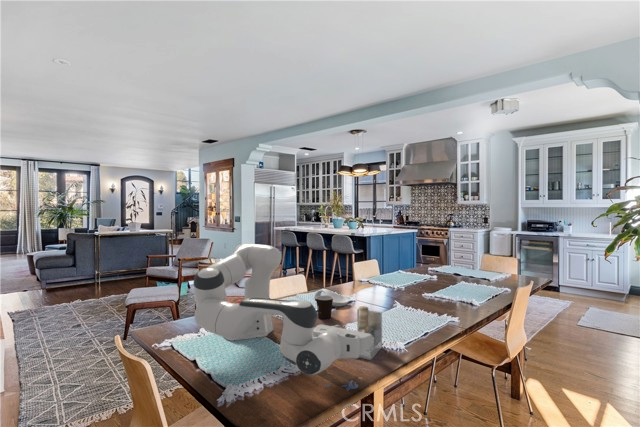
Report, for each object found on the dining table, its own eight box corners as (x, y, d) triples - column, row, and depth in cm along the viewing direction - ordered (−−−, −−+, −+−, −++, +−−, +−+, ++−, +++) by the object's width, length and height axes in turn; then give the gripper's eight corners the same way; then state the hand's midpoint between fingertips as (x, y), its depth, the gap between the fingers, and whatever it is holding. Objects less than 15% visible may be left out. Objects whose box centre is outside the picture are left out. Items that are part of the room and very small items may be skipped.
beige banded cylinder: (362, 346, 129) (362, 309, 128) (356, 343, 132) (357, 307, 132) (369, 344, 131) (370, 308, 130) (364, 341, 134) (364, 305, 133)
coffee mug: (331, 320, 167) (331, 300, 166) (314, 319, 168) (314, 299, 168) (335, 313, 178) (335, 294, 178) (319, 312, 180) (319, 293, 179)
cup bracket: (370, 360, 124) (370, 321, 124) (345, 354, 129) (345, 317, 129) (382, 347, 135) (382, 312, 135) (358, 342, 140) (358, 308, 140)
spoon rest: (353, 305, 192) (353, 293, 192) (339, 310, 184) (339, 297, 184) (323, 297, 209) (323, 286, 209) (309, 301, 201) (309, 289, 200)
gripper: (305, 346, 114) (325, 332, 126) (362, 359, 104) (377, 343, 116) (305, 327, 114) (325, 315, 126) (362, 339, 104) (377, 325, 116)
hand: (350, 329), depth 121 cm, fingers open, 8 cm apart
